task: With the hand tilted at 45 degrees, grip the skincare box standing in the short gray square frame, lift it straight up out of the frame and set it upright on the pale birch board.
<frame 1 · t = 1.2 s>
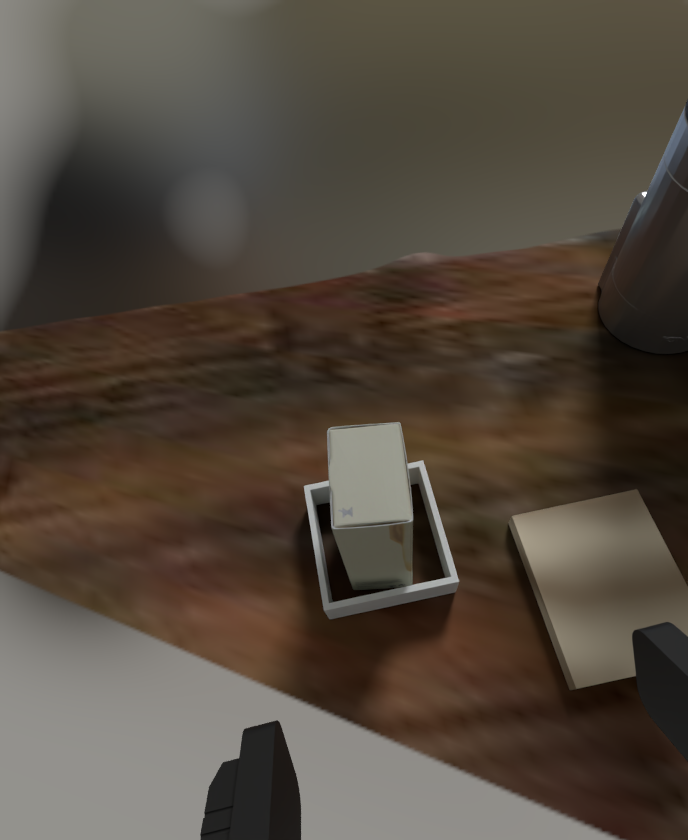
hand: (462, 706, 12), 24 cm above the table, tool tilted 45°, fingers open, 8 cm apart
skincare box: (378, 545, 39), resting in gray square frame
gray square frame: (378, 544, 39), on the table
birch board: (601, 586, 36), on the table
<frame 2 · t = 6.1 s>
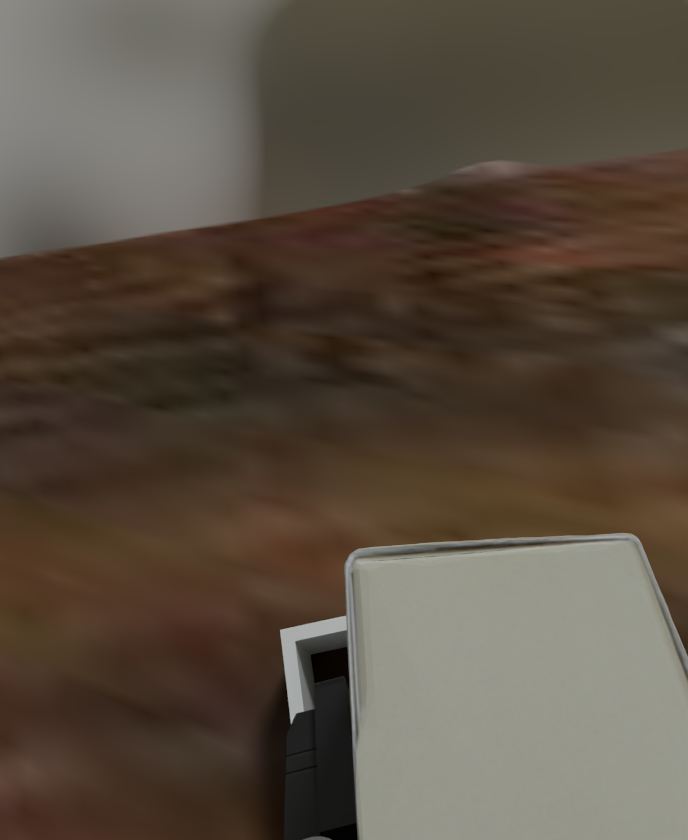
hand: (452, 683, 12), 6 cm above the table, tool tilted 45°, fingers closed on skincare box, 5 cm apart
skincare box: (457, 765, 16), resting in gray square frame, touching gripper
gray square frame: (458, 766, 16), on the table
when the fingers open (8 cm above the table, at t = 12.9 s): skincare box drops 1 cm, resting on birch board.
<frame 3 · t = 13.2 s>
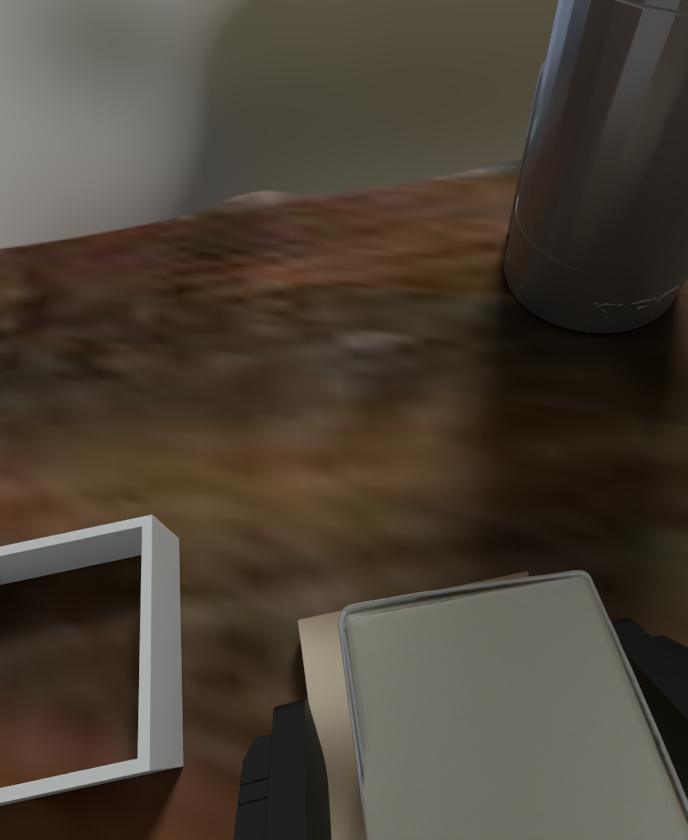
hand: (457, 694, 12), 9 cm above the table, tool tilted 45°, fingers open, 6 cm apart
skincare box: (453, 771, 17), point 1 cm above the table, touching birch board
gray square frame: (75, 662, 22), on the table
birch board: (450, 761, 19), on the table
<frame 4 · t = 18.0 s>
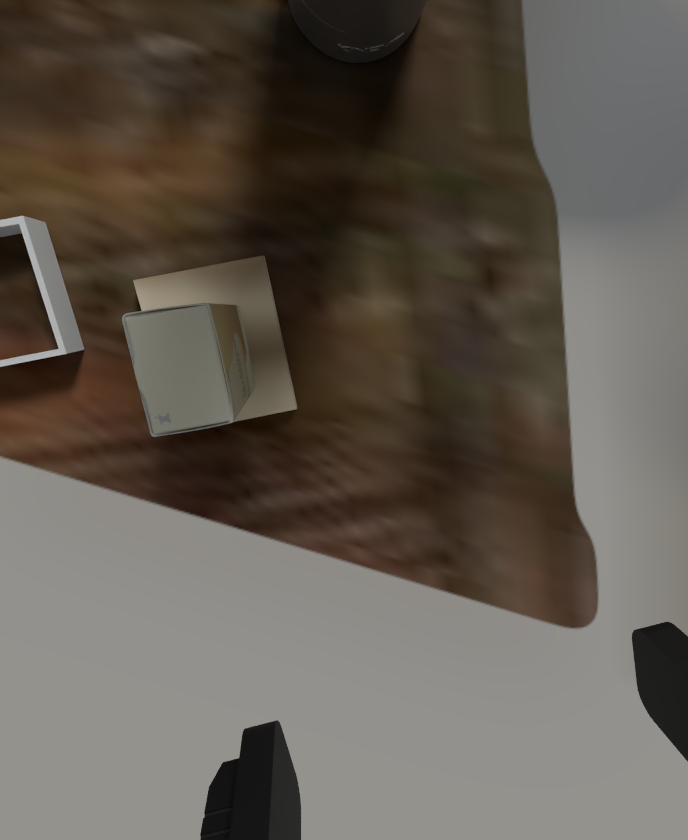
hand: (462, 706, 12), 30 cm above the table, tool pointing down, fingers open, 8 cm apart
skincare box: (218, 350, 38), point 1 cm above the table, touching birch board
gray square frame: (2, 299, 37), on the table
birch board: (221, 345, 39), on the table
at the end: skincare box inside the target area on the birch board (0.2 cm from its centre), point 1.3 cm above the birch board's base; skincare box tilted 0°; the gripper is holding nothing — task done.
